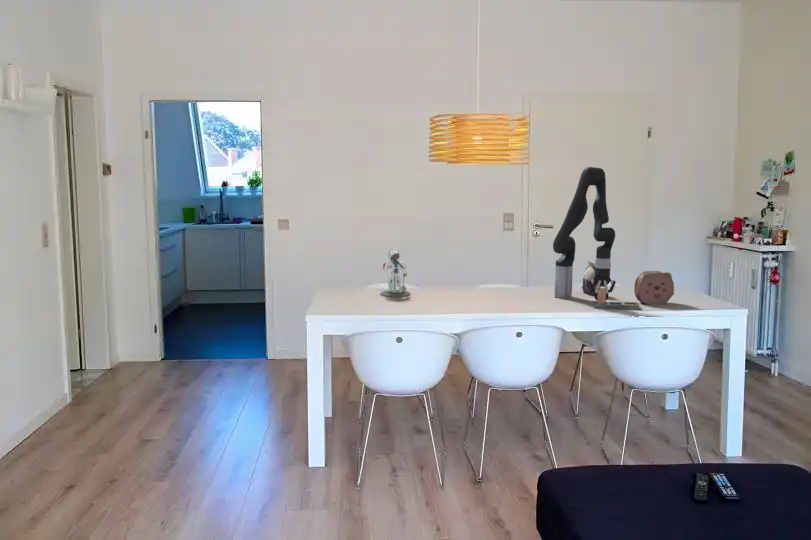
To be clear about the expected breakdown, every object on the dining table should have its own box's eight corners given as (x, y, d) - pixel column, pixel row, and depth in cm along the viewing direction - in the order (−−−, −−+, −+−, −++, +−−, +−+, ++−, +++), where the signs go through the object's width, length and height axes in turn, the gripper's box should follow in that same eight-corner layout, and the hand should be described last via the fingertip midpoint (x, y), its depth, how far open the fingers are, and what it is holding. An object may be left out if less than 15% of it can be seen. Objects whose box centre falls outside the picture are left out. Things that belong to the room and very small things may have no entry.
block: (597, 304, 371) (597, 289, 370) (596, 303, 375) (597, 288, 374) (605, 305, 370) (606, 289, 369) (604, 303, 374) (605, 288, 373)
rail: (594, 308, 369) (594, 303, 369) (592, 305, 377) (592, 300, 377) (639, 309, 366) (639, 305, 366) (636, 306, 374) (636, 302, 373)
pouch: (573, 291, 419) (575, 258, 416) (586, 290, 421) (588, 258, 419) (596, 298, 395) (597, 264, 393) (609, 298, 397) (611, 263, 395)
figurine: (411, 292, 414) (411, 248, 410) (408, 297, 397) (409, 251, 393) (382, 291, 415) (382, 248, 412) (378, 296, 399) (378, 251, 395)
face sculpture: (639, 304, 379) (640, 273, 376) (632, 302, 385) (633, 271, 383) (674, 303, 382) (675, 272, 380) (666, 301, 389) (668, 270, 387)
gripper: (616, 266, 372) (614, 299, 375) (587, 265, 375) (586, 298, 377) (618, 268, 365) (616, 302, 368) (588, 267, 367) (587, 300, 370)
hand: (601, 299), depth 372 cm, fingers closed on block, 4 cm apart
